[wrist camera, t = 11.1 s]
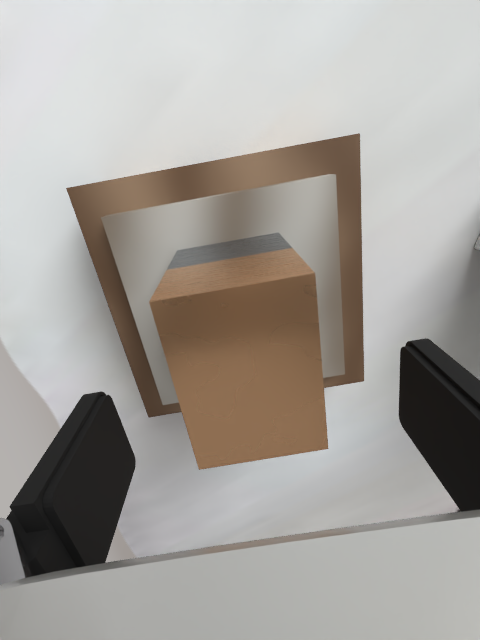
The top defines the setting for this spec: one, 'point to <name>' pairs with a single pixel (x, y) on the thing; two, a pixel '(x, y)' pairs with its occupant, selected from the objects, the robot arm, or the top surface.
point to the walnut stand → (226, 225)
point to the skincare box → (477, 244)
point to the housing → (244, 349)
